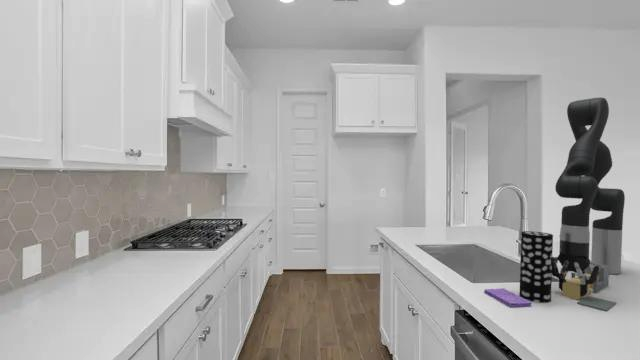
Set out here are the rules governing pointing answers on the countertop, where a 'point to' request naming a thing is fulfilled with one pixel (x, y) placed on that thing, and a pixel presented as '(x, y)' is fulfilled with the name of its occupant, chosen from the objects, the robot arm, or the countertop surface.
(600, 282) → the dispenser
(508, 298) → the sponges
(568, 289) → the wooden block
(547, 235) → the white-spotted black cylinder
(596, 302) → the mat
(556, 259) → the robot arm
